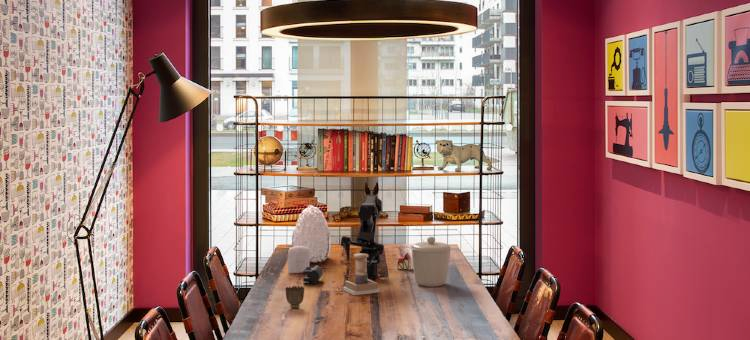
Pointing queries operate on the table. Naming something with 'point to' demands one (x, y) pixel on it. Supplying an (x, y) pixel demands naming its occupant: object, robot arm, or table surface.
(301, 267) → the photo printer
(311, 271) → the end cap
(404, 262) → the toy house
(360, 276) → the bobbin
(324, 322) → the table surface
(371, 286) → the cream cradle stand
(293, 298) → the cup
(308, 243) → the rice ball
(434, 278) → the canister
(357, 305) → the table surface
